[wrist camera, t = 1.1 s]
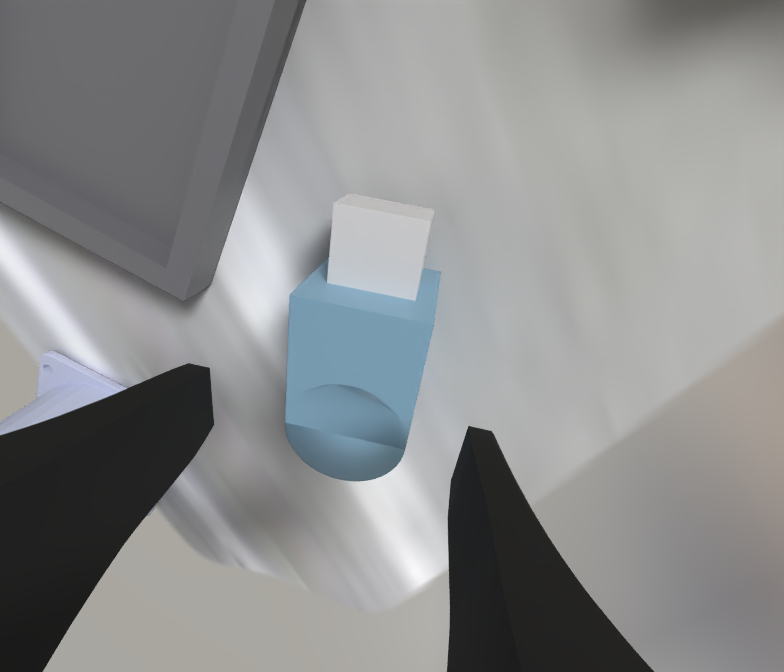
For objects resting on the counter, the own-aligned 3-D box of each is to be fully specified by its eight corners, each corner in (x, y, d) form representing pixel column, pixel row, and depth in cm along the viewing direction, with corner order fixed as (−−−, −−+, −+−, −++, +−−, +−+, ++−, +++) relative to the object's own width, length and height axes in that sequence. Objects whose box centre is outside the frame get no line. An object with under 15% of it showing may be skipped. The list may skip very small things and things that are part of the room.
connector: (409, 410, 20) (394, 492, 15) (322, 391, 20) (283, 466, 15) (455, 205, 15) (453, 237, 11) (341, 184, 15) (293, 206, 11)
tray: (210, 284, 18) (183, 301, 16) (-43, 145, 17) (-102, 146, 15) (367, -184, 11) (348, -245, 9) (-58, -490, 10) (-175, -630, 8)
